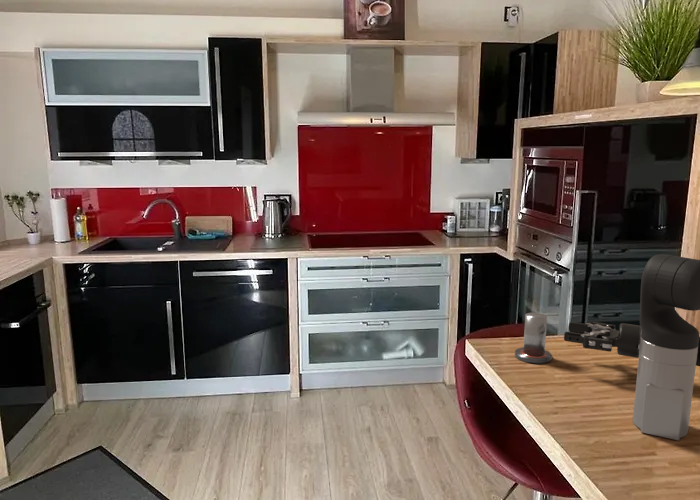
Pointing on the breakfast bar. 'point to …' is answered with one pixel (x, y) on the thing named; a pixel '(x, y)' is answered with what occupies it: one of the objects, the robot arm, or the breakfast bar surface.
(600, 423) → the breakfast bar surface
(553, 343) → the breakfast bar surface
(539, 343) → the grey metal cylinder
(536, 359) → the flange pad
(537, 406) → the breakfast bar surface
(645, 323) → the robot arm
